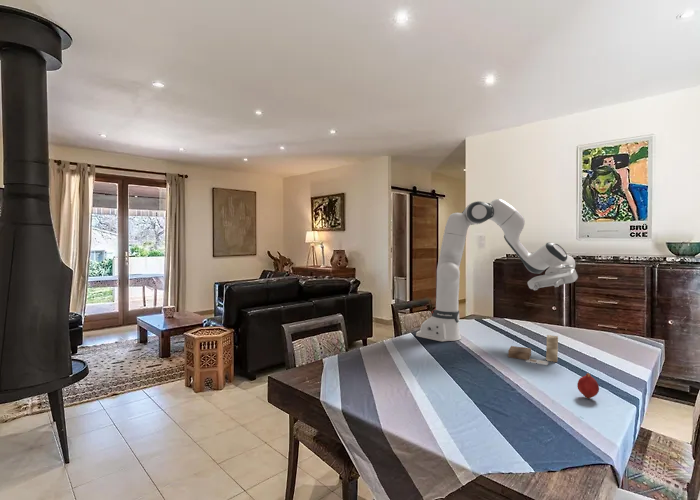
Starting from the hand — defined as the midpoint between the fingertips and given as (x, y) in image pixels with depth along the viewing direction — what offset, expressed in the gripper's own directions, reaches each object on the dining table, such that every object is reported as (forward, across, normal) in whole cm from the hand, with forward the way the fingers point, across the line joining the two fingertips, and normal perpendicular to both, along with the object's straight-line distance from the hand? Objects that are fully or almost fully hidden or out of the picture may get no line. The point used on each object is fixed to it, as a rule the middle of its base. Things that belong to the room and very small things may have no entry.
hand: (545, 287), depth 164 cm
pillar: (+16, -1, +26) cm, 31 cm away
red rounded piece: (+47, +23, +22) cm, 56 cm away
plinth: (+21, -11, +21) cm, 32 cm away
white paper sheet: (+23, -4, +23) cm, 33 cm away
